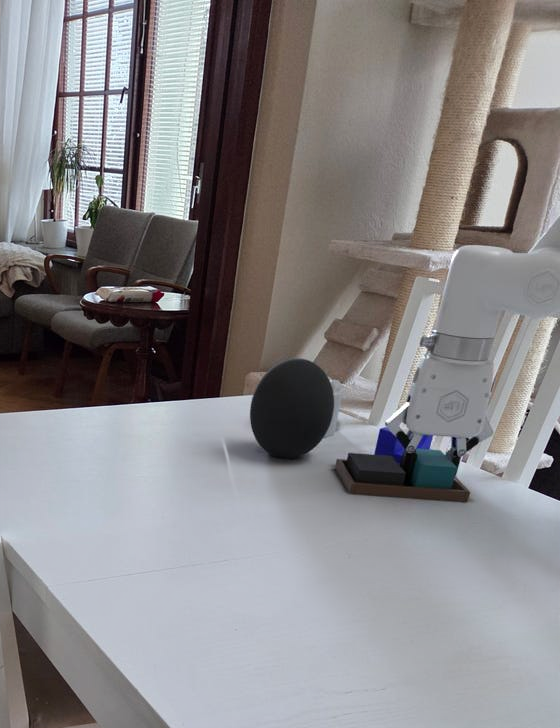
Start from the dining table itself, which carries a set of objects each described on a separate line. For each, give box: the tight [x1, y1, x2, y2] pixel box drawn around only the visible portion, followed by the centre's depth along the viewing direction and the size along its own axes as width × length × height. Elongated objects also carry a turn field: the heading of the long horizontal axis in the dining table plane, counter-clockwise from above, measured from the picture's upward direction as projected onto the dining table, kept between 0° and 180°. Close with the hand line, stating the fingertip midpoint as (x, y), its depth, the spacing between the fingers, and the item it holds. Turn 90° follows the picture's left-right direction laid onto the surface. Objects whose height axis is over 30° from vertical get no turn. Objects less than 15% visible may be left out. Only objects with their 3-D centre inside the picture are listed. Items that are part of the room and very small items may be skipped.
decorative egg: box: [249, 357, 334, 460], centre depth 130 cm, size 12×12×15 cm
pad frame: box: [334, 458, 471, 503], centre depth 123 cm, size 16×11×2 cm
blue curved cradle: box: [373, 426, 434, 463], centre depth 132 cm, size 12×4×6 cm, turn 133°
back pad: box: [346, 452, 406, 486], centre depth 123 cm, size 6×8×3 cm
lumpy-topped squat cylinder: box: [323, 375, 344, 439], centre depth 147 cm, size 10×13×9 cm
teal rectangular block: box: [409, 448, 458, 489], centre depth 122 cm, size 5×8×4 cm, turn 176°
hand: (425, 477), depth 122 cm, fingers closed on teal rectangular block, 4 cm apart
